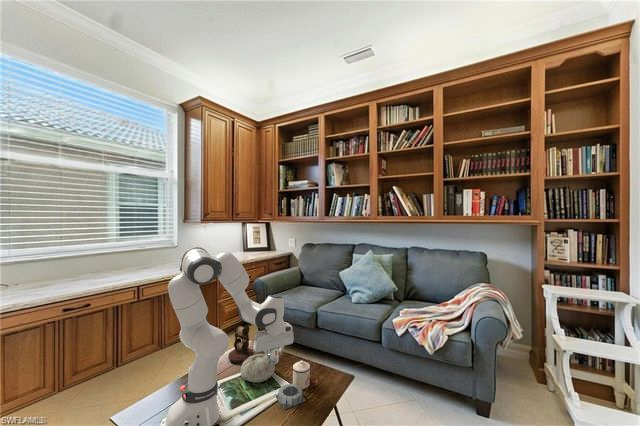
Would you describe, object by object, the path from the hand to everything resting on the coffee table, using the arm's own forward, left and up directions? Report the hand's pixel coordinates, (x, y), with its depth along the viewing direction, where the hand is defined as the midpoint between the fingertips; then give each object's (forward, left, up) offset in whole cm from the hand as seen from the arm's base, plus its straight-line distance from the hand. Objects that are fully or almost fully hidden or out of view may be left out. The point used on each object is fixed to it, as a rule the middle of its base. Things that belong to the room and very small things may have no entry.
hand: (273, 356), depth 131 cm
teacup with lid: (+15, -2, -17) cm, 23 cm away
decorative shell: (-3, +14, -17) cm, 22 cm away
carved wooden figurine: (-5, +37, -17) cm, 41 cm away
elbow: (0, 0, -3) cm, 3 cm away
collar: (+5, -10, -17) cm, 20 cm away
